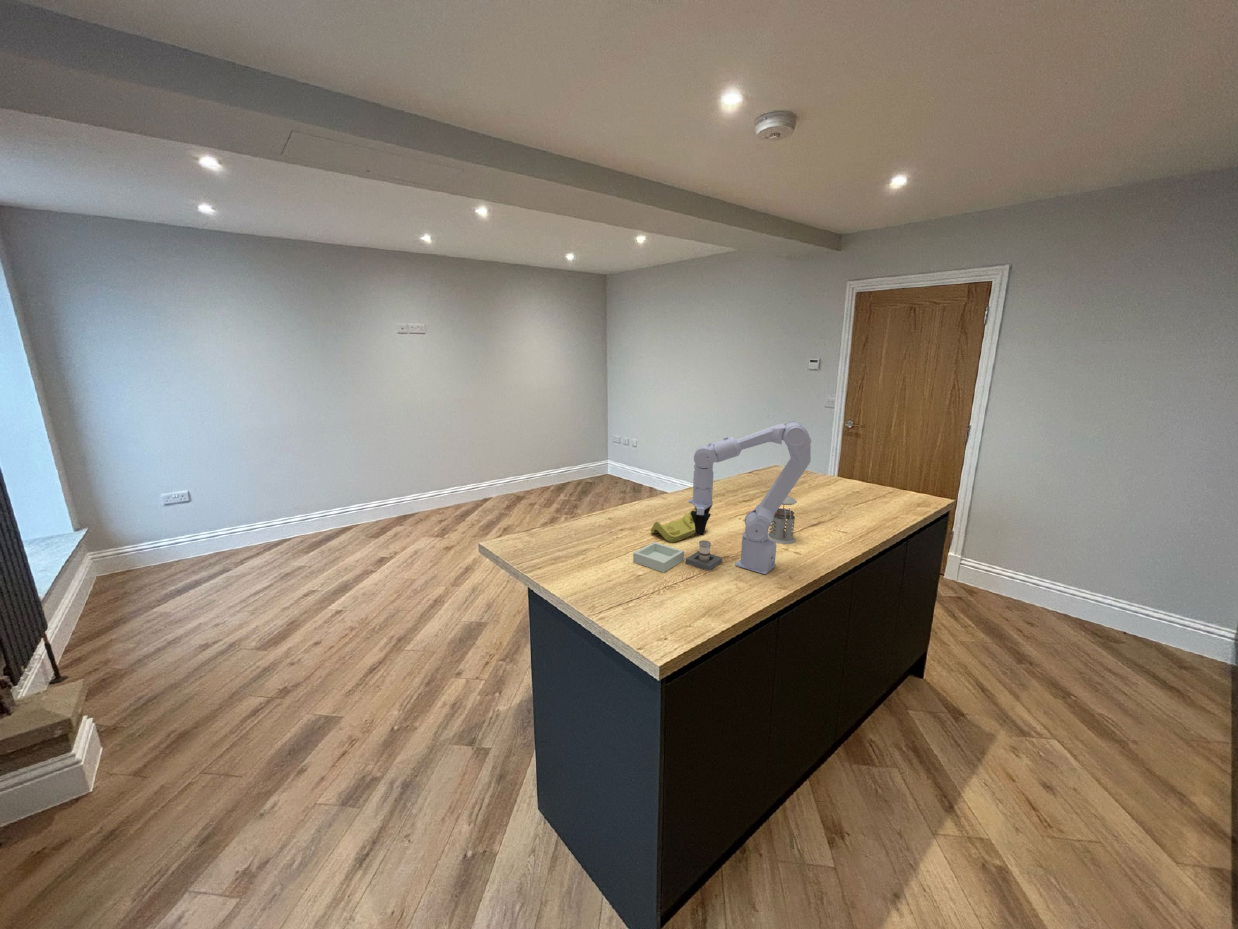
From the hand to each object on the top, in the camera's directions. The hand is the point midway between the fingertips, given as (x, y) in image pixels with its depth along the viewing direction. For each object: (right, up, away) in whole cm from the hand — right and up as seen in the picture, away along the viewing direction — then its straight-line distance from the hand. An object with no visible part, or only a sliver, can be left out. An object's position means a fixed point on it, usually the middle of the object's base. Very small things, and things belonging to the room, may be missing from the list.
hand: (700, 530), depth 139 cm
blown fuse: (+1, -10, 0) cm, 10 cm away
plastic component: (-3, -5, +23) cm, 24 cm away
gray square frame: (+1, -10, 0) cm, 10 cm away
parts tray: (-13, -9, 0) cm, 16 cm away
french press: (+31, -6, +19) cm, 37 cm away
